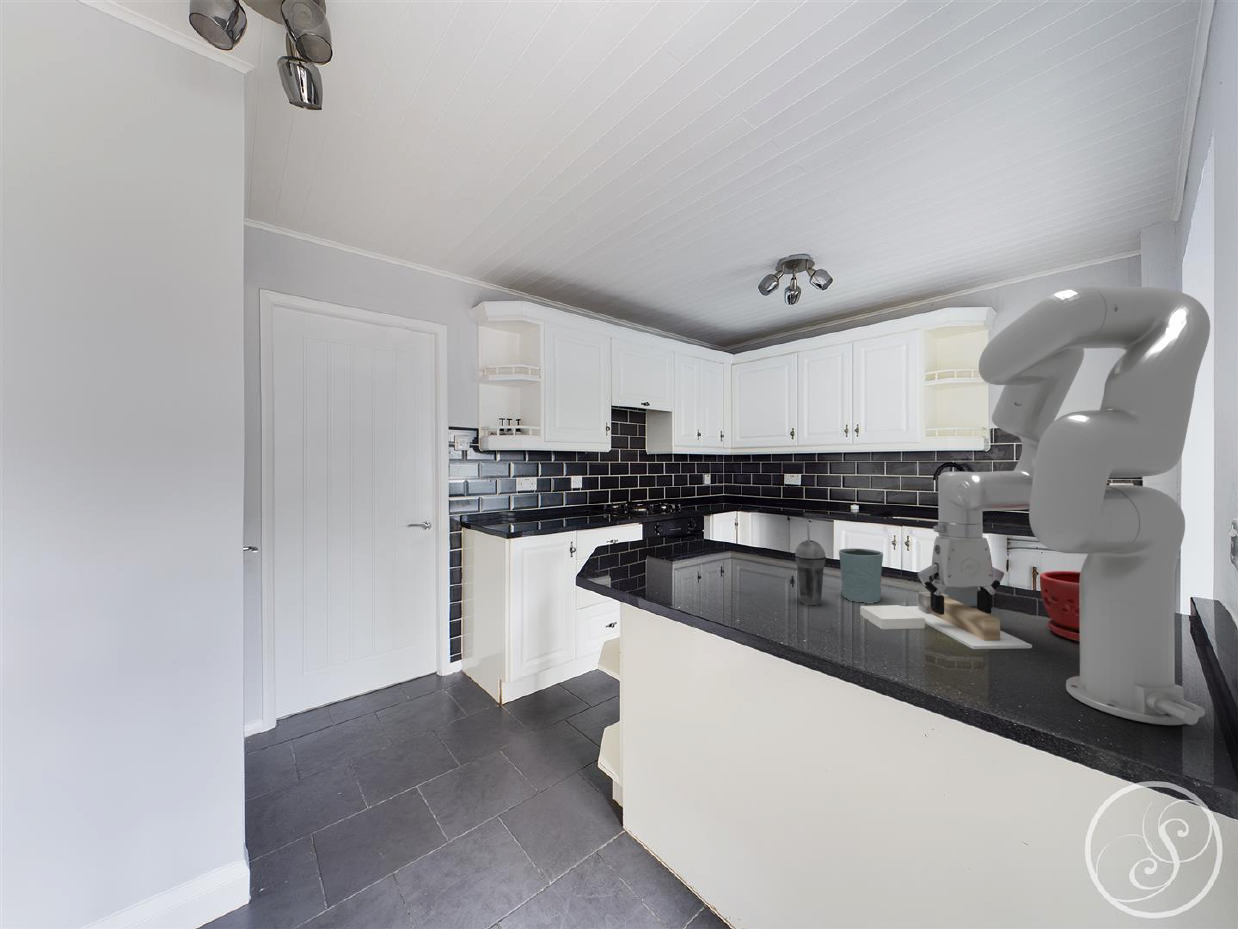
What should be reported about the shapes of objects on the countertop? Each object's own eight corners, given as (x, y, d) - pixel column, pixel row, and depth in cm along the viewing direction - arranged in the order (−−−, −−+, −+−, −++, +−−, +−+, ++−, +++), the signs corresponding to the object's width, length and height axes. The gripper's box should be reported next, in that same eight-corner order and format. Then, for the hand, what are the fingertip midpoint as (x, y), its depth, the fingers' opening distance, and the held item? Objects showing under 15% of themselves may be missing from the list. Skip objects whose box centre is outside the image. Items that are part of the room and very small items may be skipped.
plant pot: (1102, 628, 100) (1101, 570, 100) (1152, 653, 87) (1152, 586, 87) (1026, 623, 103) (1026, 567, 103) (1064, 647, 91) (1064, 583, 90)
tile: (924, 618, 102) (899, 605, 111) (882, 619, 101) (860, 606, 110) (924, 630, 102) (899, 616, 111) (882, 631, 101) (860, 617, 110)
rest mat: (1032, 648, 90) (1032, 645, 90) (973, 649, 90) (973, 646, 90) (945, 608, 114) (945, 605, 114) (899, 609, 114) (899, 606, 114)
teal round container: (845, 603, 119) (845, 555, 119) (834, 592, 129) (833, 547, 129) (890, 605, 117) (889, 555, 117) (875, 593, 127) (874, 547, 127)
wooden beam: (1005, 640, 93) (1005, 619, 93) (979, 640, 93) (979, 620, 93) (940, 609, 112) (939, 592, 112) (918, 609, 112) (918, 592, 112)
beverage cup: (831, 602, 121) (830, 522, 120) (820, 609, 115) (818, 525, 115) (802, 596, 126) (801, 520, 125) (790, 603, 120) (789, 523, 120)
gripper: (930, 534, 97) (931, 619, 98) (1016, 532, 97) (1017, 617, 97) (907, 528, 105) (908, 607, 105) (988, 527, 105) (988, 606, 105)
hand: (960, 612), depth 101 cm, fingers open, 9 cm apart
